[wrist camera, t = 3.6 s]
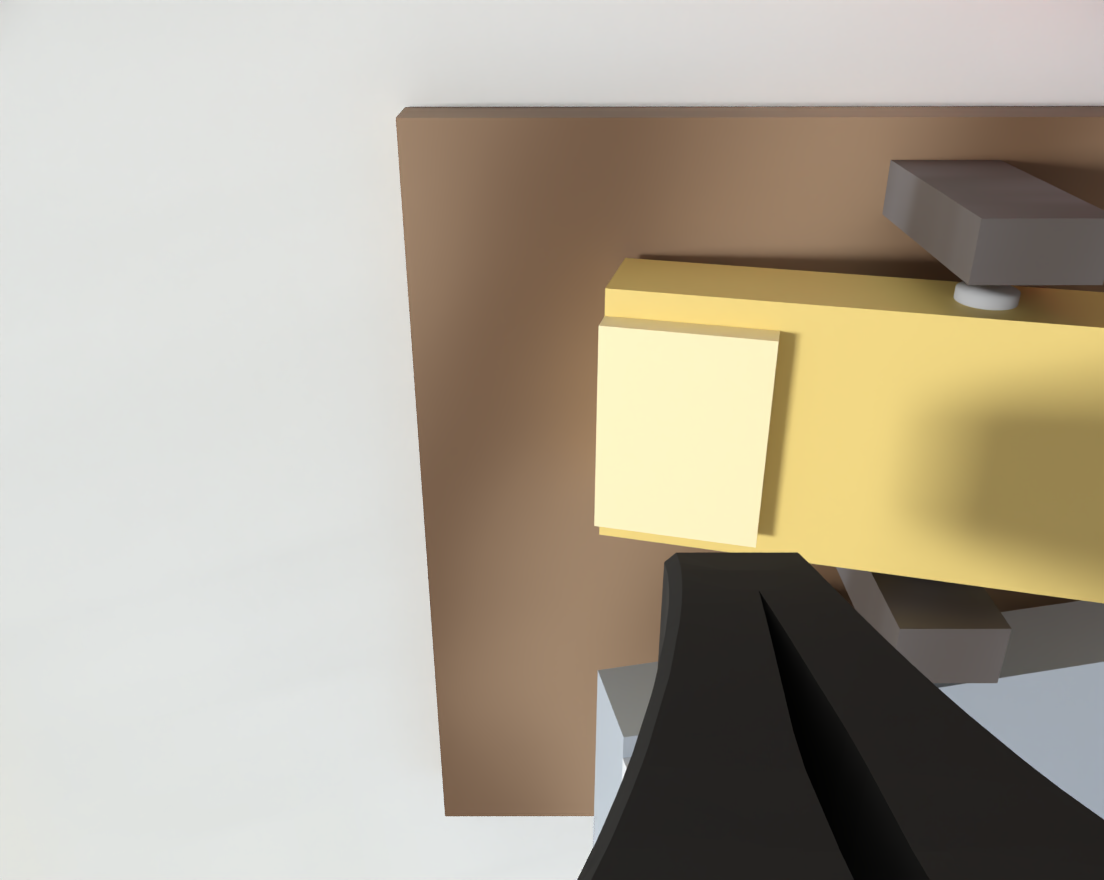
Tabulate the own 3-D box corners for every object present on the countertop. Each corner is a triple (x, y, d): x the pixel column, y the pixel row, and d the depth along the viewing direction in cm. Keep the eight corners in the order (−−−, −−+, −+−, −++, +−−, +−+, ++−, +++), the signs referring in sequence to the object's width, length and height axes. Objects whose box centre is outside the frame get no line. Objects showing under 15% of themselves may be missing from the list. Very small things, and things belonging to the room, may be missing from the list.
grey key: (1147, 584, 17) (1236, 652, 16) (1087, 765, 19) (1160, 842, 18) (597, 663, 15) (631, 749, 14) (592, 853, 17) (622, 950, 16)
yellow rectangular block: (1398, 301, 12) (1484, 355, 11) (1284, 580, 14) (1342, 662, 13) (625, 248, 15) (599, 287, 13) (617, 495, 17) (593, 556, 15)
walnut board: (1452, 105, 15) (1772, 164, 11) (1185, 778, 21) (1327, 967, 17) (405, 107, 15) (353, 166, 11) (449, 779, 21) (427, 968, 17)
